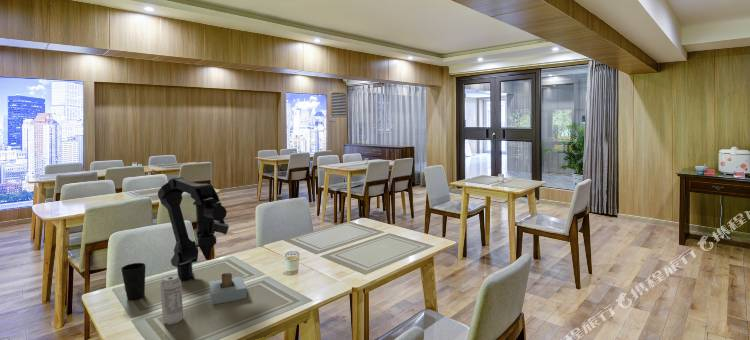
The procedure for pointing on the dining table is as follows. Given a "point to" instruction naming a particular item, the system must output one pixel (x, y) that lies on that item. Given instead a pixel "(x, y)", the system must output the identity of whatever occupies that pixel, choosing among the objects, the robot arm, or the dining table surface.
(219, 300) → the socket
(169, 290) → the energy drink can
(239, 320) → the dining table surface
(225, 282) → the dowel
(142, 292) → the cup
